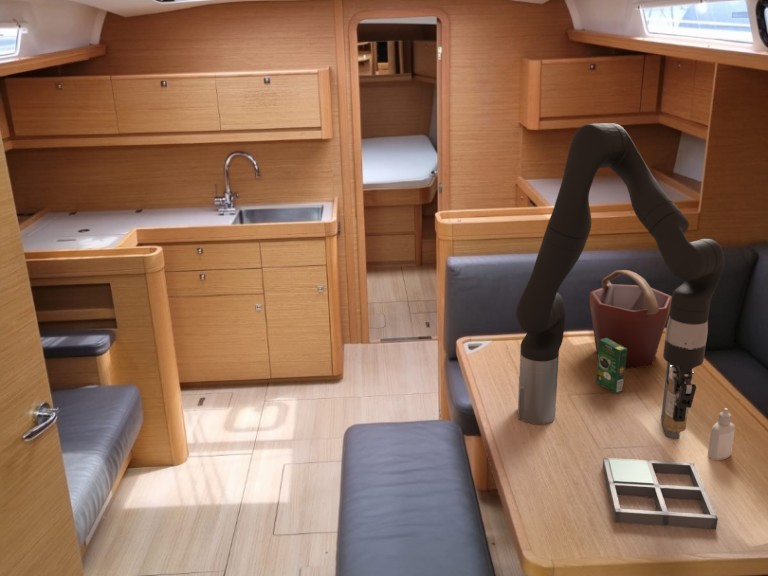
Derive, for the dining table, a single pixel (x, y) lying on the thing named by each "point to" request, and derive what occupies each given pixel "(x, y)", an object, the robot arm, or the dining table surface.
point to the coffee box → (611, 365)
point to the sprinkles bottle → (672, 408)
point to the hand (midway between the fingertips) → (675, 414)
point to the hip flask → (667, 432)
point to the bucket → (630, 317)
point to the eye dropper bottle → (721, 437)
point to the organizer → (656, 492)
